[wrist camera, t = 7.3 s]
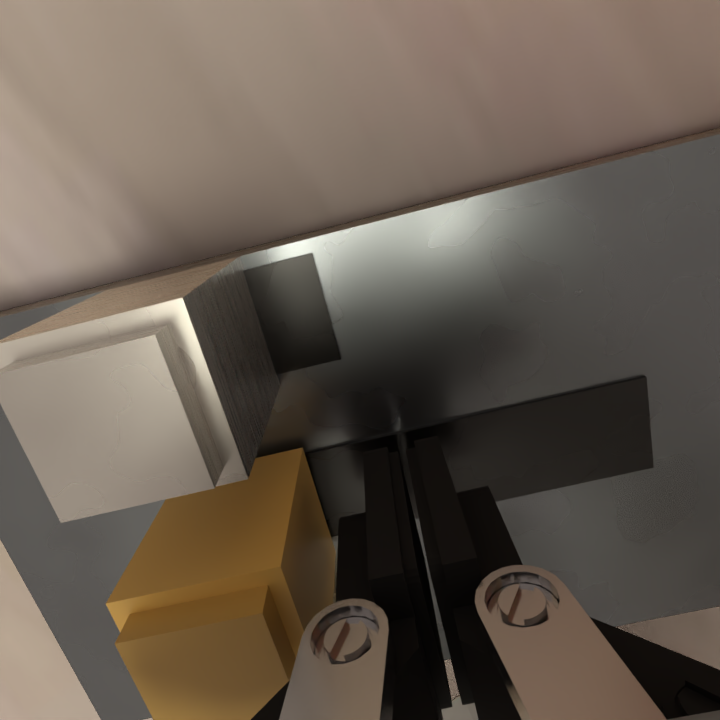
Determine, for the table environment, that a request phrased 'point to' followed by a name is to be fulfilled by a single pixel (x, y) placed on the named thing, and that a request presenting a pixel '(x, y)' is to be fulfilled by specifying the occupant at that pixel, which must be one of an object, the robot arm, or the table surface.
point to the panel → (395, 388)
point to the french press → (460, 711)
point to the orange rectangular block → (225, 593)
